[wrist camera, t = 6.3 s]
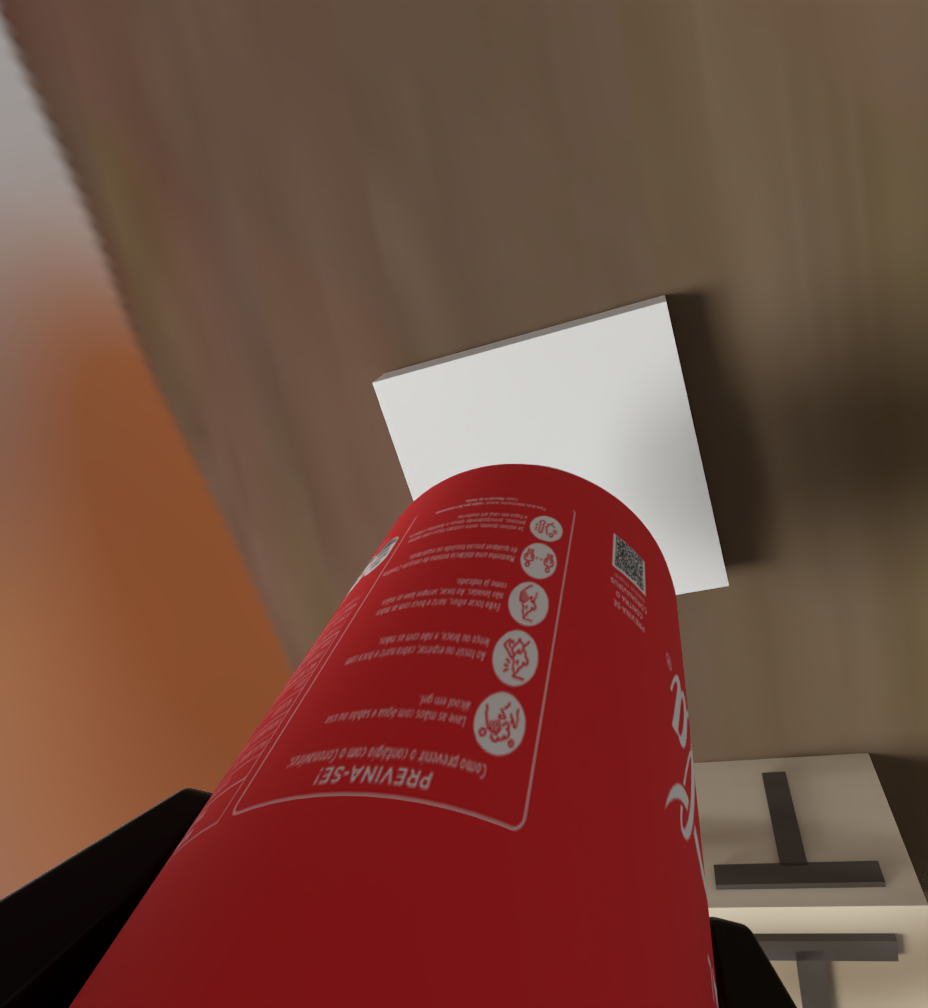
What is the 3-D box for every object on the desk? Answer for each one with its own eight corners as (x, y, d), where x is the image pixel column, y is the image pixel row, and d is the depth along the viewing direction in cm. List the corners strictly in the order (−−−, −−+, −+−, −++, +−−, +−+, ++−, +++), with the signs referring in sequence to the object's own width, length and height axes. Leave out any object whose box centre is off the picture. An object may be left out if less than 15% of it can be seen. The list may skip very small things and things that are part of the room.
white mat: (724, 567, 20) (729, 585, 19) (466, 612, 22) (459, 631, 21) (665, 294, 18) (666, 301, 17) (384, 373, 20) (371, 382, 19)
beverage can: (530, 381, 14) (109, 1246, 3) (732, 588, 14) (1060, 1942, 3) (341, 561, 16) (-331, 1461, 5) (526, 734, 16) (315, 1864, 5)
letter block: (879, 891, 23) (941, 1075, 18) (701, 893, 24) (716, 1065, 20) (867, 746, 21) (930, 907, 17) (676, 757, 23) (686, 910, 18)
